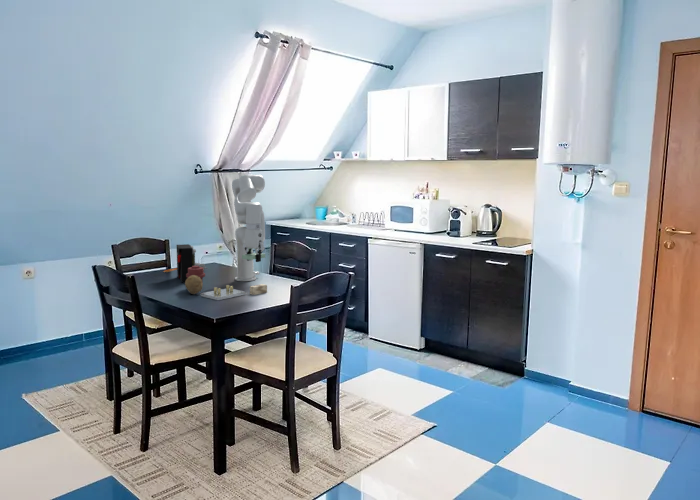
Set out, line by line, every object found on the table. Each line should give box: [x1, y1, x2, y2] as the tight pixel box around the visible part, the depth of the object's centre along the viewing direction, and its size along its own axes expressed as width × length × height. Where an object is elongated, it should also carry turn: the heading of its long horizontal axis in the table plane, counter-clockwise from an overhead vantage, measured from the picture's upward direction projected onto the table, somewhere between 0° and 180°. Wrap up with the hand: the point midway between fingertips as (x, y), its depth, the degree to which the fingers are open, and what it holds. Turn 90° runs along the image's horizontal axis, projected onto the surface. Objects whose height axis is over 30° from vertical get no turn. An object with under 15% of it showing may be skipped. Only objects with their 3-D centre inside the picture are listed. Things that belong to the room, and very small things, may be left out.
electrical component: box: [176, 243, 197, 284], centre depth 322 cm, size 18×10×20 cm, turn 22°
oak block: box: [249, 283, 268, 296], centre depth 290 cm, size 9×4×4 cm, turn 141°
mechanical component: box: [186, 266, 206, 286], centre depth 299 cm, size 12×10×10 cm
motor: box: [162, 262, 209, 273], centre depth 350 cm, size 23×22×5 cm
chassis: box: [200, 284, 247, 301], centre depth 283 cm, size 18×14×4 cm
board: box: [242, 252, 266, 261], centre depth 287 cm, size 11×6×2 cm, turn 143°
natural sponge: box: [184, 275, 204, 295], centre depth 285 cm, size 9×9×10 cm
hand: (253, 260), depth 287 cm, fingers closed on board, 6 cm apart
